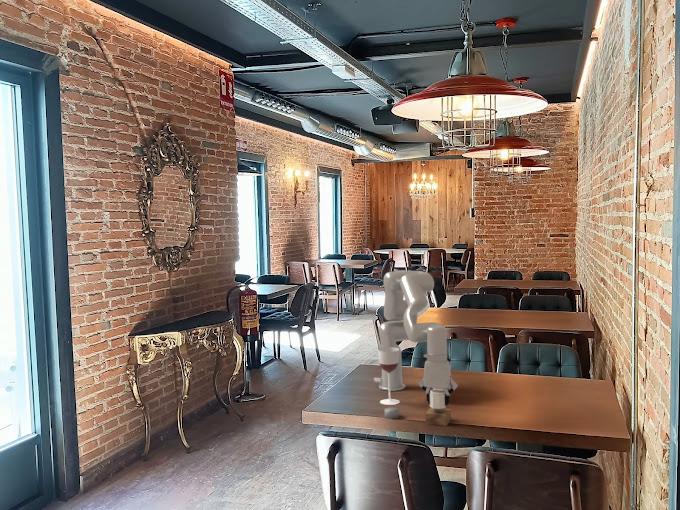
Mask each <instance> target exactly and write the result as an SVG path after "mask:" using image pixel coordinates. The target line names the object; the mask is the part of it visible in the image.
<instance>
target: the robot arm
mask: <svg viewBox="0 0 680 510" xmlns="http://www.w3.org/2000/svg"><path fill="white" fill-rule="evenodd" d="M383 287H384V291H385V296H384V305H383V306H384V307H383V317H384V319H385V320H386V321H384V322H382V323H380V325H379V326H378V336H379V341H380V348H384V347H395V348H398V349H399V362H398V366H397V367H396V369H394V370H393V371H391V372H390V390H391V392H395V391H402V390H404V389H406V384H405V383H403V372H402V371H403V369H402V368H403V367H402V365H403V364H402V363H403V362H402V349H401V348H400V346H399V345H398V344H397V342H404V341H410V342H411V343H416V344H417V343H426V353H424V354H423V358H424V359H425V358H426V360H425V362H424V368H423V378H421V380H419V381H418V383H417V385H418V386H419V387H420V388H421V389H422V390H423V391H424V392H425V394H426V402H427V404H428V405H430V390H432V389H433V388H439V389H444V391H445V393H446V395H445V406H446V407H447V406H448V405H449V404H450V402H451V400H450V398H451V394H452V393H453V392H454V391H455V390H456V389H457V388H458V386H459V385H458V383H456V382H455V380H453V378H452V373H451V366H450V363H449V362H450V360H448V345H447V344H448V342H447V341H448V339H447V335H448V334H447V328H446V327H445V326H444V325H441V324H440V323H439V322H418V315H419V313H420V312H422V311H423V310H425V309H426V307H427V306H428V304H429V301H428V298H427V295H426V293H430V292H432V291H433V290H434V287H435V280H434V278H433V276H432V275H431V274H430V273H429V272H426V271H422V270H400V271H399V270H398V271H389V272H386V273H385V274H384V276H383ZM373 382H374V383H377V384H378V388H379V389H380V390H383V391H386V392H389V390H388V372H386V371H385V370H383V369H382V368H381V377H374V378H373ZM450 385H451V389H449V387H450Z"/></svg>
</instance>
